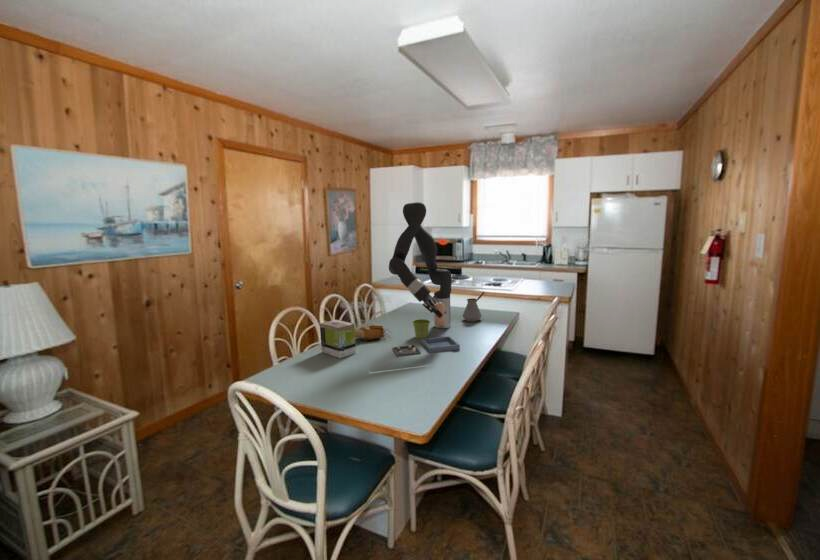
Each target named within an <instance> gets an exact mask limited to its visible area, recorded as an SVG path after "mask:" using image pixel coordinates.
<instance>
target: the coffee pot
mask: <svg viewBox="0 0 820 560" xmlns="http://www.w3.org/2000/svg"><path fill="white" fill-rule="evenodd" d="M486 294H487V293H486V292H485V291H483V292H482V293H481V294H480V295H478V297H477V298H475V297H473V298H466V301H467V304H466V305H465V309H464V311H463V313H462V318H463V319H464V320H465V321H466V322H470V323H472V322H473V323H475V322H478V321H479V320H481V318H482V316H483V315H482V312H481V311H480V308H479V306H478V304H477V302H479V300H480V299H481V298H482V296H485V295H486Z"/></svg>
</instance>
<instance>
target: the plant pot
mask: <svg viewBox="0 0 820 560" xmlns="http://www.w3.org/2000/svg"><path fill="white" fill-rule="evenodd" d="M430 323H431V321H430V320H429V319H425V318H424V319H419V318H418V319H414V320H413V321H412V324H413V327H414V334H415V338H417V339H427V338H428V334H429V326H430Z"/></svg>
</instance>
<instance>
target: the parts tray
mask: <svg viewBox="0 0 820 560" xmlns="http://www.w3.org/2000/svg"><path fill="white" fill-rule="evenodd" d="M392 350H393V352H394V353H395V355H396V356H397V357H404V356H411V355H412V356H413V355H421V351H420V349H419V348H418V347H417V346H416V345H415V344H411V345H410V344H409V345H401V346H394V347H392Z"/></svg>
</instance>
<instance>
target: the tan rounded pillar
mask: <svg viewBox="0 0 820 560" xmlns="http://www.w3.org/2000/svg"><path fill="white" fill-rule="evenodd" d="M435 307H436V308H437V310H439V311H440V312H441V313H442V314H443V316H442V317H441V318H439V317H438V316H437V315H436V314H435V313H433V318H434V326H435V325H436V326H443V325H445V309H444V304H443V303H441V302H438V303H435Z"/></svg>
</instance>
